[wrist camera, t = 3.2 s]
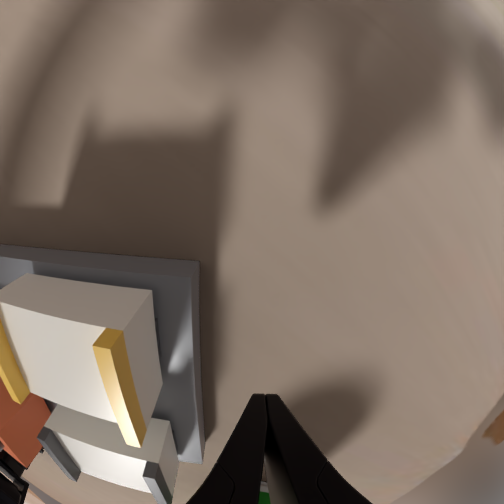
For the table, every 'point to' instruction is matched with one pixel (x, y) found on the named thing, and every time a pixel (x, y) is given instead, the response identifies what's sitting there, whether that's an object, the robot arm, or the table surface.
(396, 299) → the table surface
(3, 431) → the cap
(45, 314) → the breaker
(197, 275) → the panel
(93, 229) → the table surface
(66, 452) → the block
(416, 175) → the table surface
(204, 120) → the table surface
